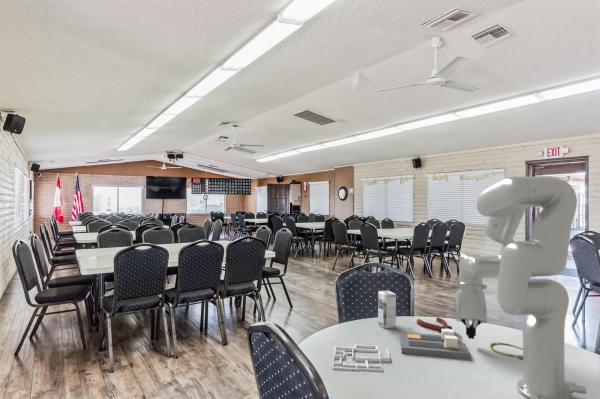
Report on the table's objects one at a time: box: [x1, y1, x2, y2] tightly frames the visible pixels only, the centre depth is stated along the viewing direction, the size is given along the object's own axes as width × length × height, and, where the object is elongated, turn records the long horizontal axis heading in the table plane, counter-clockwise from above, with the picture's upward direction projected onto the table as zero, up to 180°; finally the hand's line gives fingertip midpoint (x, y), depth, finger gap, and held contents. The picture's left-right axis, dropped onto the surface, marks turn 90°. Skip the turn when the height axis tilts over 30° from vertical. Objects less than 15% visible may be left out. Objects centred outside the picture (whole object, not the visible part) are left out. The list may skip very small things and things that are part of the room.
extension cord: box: [489, 342, 523, 361], centre depth 127 cm, size 12×16×2 cm
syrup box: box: [377, 290, 397, 329], centre depth 155 cm, size 6×6×14 cm
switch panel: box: [399, 331, 470, 360], centre depth 131 cm, size 22×16×2 cm
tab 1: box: [440, 328, 455, 340], centre depth 133 cm, size 4×3×3 cm
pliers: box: [416, 317, 463, 338], centre depth 149 cm, size 12×21×3 cm, turn 14°
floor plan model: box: [332, 344, 391, 373], centre depth 125 cm, size 19×25×2 cm
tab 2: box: [444, 335, 458, 348], centre depth 127 cm, size 4×3×3 cm
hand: (470, 337), depth 132 cm, fingers closed
